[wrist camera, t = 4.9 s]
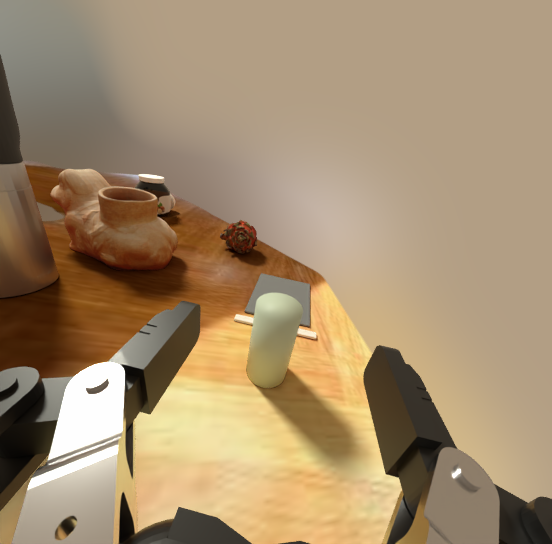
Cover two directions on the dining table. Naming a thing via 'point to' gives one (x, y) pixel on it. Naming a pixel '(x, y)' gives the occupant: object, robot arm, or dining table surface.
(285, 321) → the pale green cylinder
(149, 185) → the spread jar
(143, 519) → the dining table surface
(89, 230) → the ceramic vessel
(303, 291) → the mat
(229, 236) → the dragon fruit
